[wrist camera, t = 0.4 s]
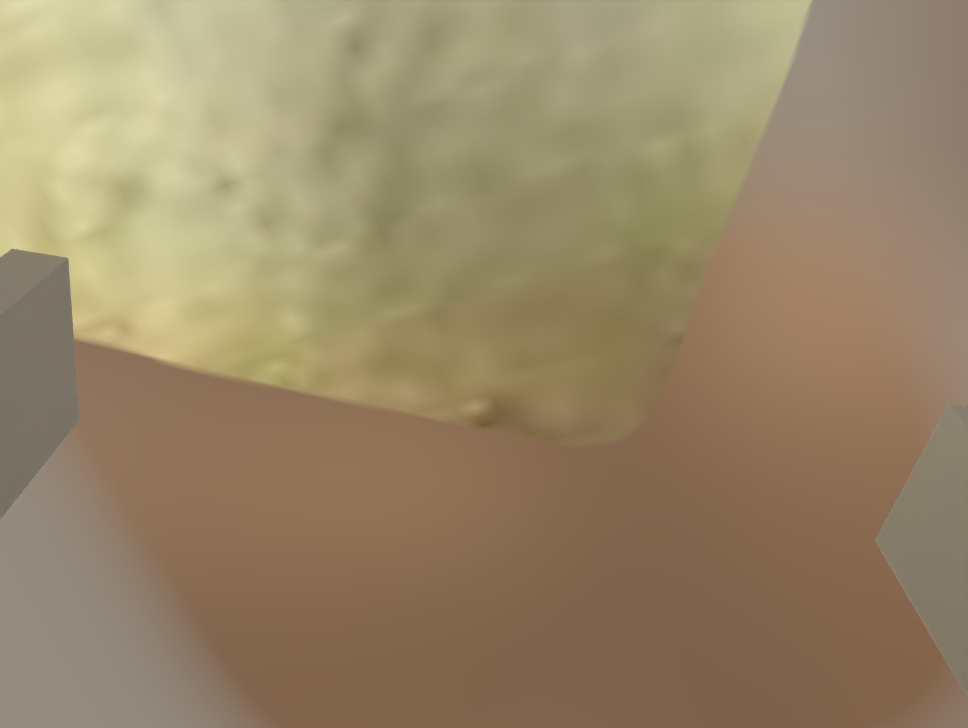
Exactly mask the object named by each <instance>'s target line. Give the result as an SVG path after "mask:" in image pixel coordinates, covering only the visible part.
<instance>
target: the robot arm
mask: <svg viewBox="0 0 968 728" xmlns="http://www.w3.org/2000/svg"><path fill="white" fill-rule="evenodd" d="M78 421H79V410H78V395H77V380H76V366H75V351H74V336H73V321H72V307H71V292H70V277H69V263H68V258H65V257H59V256H53V255H47V254H41V253H35V252H29V251H23V250H17V249H11V250H10V251H9V252H7V253H6V254H4V255H3V256H2V257H0V519H1V518H2V517H3V515H4V514H5V513H6V511H7V510H8V509H9V508H10V507H11V505H12V504H13V502H14V501H15V500H16V499H17V498H18V496H19V495H20V494H21V493H22V491H23V490H24V489H25V488H26V486H27V485H28V484H29V483H30V481H31V480H32V479H33V477H34V476H35V475H36V474H37V472H38V471H39V470H40V469H41V467H42V466H43V465H44V464H45V462H46V461H47V460H48V458H49V457H50V456H51V455H52V453H53V452H54V451H55V450H56V448H57V447H58V445H60V443H61V442H62V441H63V440H64V438H65V437H66V436H67V435H68V433H69V432H70V431H71V430H72V428H73V427H74V426H75V425H76V423H77V422H78ZM875 542H876V544H877V545H878V547H879V549H880V551H881V552H882V554H883V555H884V557H885V559H886V561H887V562H888V564H889V566H890V567H891V569H892V571H893V573H894V574H895V576H896V578H897V580H898V581H899V583H900V585H901V586H902V588H903V590H904V591H905V593H906V595H907V597H908V598H909V600H910V602H911V603H912V605H913V607H914V609H915V610H916V612H917V614H918V615H919V617H920V619H921V621H922V622H923V624H924V626H925V627H926V629H927V631H928V632H929V634H930V636H931V638H932V639H933V641H934V643H935V644H936V646H937V648H938V650H939V651H940V653H941V655H942V656H943V658H944V660H945V661H946V663H947V665H948V667H949V668H950V670H951V672H952V673H953V675H954V677H955V679H956V680H957V682H958V684H959V685H960V687H961V689H962V690H963V692H964V694H965V696H966V697H967V699H968V407H962V406H956V405H950V404H947V405H946V407H945V410H944V411H943V413H942V415H941V417H940V419H939V421H938V422H937V425H936V426H935V428H934V430H933V432H932V434H931V436H930V438H929V439H928V441H927V443H926V445H925V447H924V449H923V451H922V453H921V454H920V456H919V458H918V460H917V462H916V464H915V466H914V468H913V469H912V471H911V473H910V475H909V477H908V479H907V481H906V483H905V485H904V486H903V489H902V490H901V492H900V494H899V496H898V498H897V500H896V502H895V503H894V505H893V507H892V509H891V511H890V513H889V515H888V517H887V519H886V520H885V522H884V524H883V526H882V528H881V530H880V532H879V534H878V536H877V537H876V539H875Z"/></svg>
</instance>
